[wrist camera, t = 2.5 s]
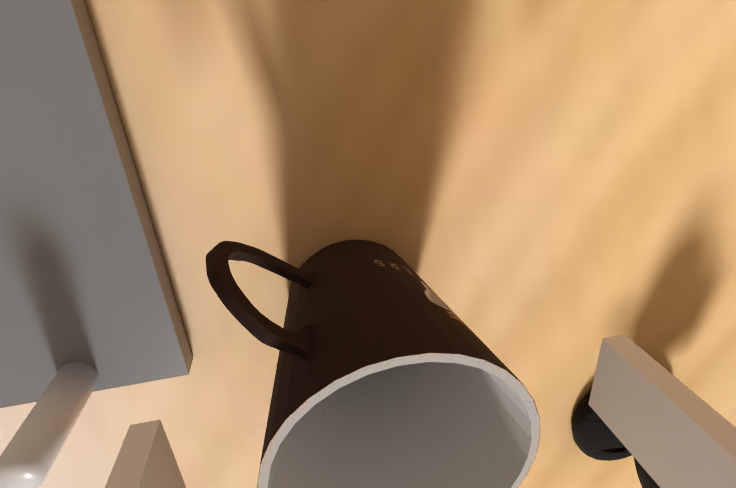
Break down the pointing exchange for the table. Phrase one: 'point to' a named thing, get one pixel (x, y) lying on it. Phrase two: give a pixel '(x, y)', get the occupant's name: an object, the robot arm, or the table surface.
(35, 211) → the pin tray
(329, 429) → the coffee mug
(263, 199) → the table surface
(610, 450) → the webcam
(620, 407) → the robot arm
